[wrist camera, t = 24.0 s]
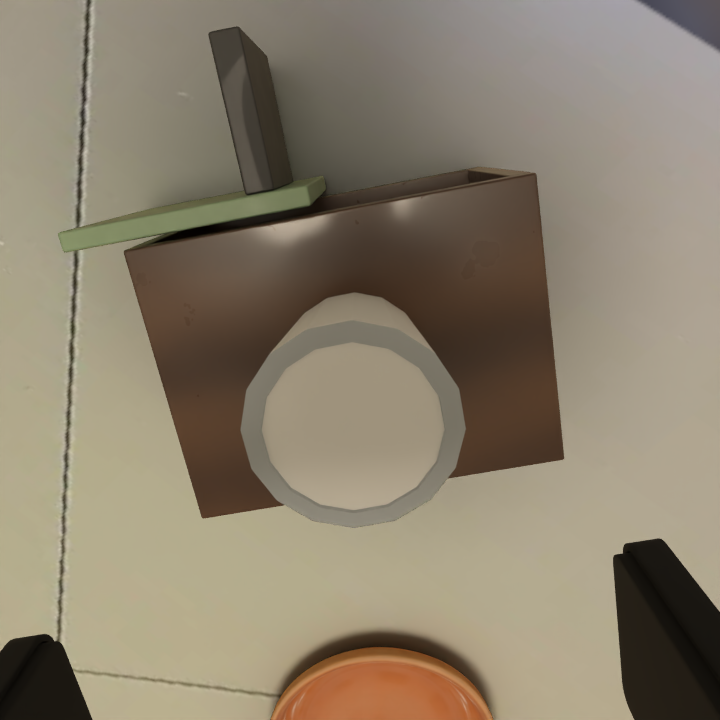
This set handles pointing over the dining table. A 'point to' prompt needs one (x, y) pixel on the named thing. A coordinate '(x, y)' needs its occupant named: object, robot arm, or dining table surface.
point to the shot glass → (353, 415)
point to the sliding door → (253, 150)
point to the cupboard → (366, 276)
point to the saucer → (381, 689)
